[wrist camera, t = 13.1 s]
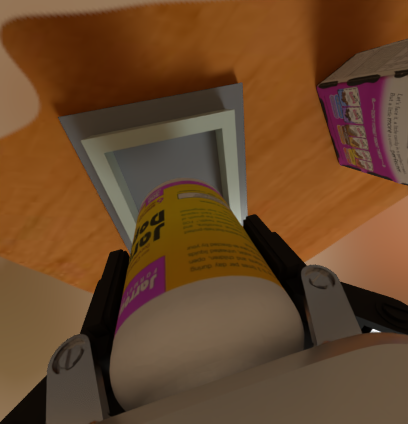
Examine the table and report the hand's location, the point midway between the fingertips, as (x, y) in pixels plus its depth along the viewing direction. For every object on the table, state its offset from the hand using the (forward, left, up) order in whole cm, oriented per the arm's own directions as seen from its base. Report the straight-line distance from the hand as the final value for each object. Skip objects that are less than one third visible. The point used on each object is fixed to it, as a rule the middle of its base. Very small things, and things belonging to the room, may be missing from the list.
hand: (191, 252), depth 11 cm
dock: (0, 0, -12) cm, 12 cm away
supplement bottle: (0, 0, -4) cm, 4 cm away
